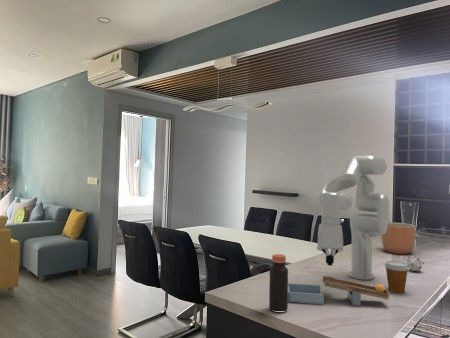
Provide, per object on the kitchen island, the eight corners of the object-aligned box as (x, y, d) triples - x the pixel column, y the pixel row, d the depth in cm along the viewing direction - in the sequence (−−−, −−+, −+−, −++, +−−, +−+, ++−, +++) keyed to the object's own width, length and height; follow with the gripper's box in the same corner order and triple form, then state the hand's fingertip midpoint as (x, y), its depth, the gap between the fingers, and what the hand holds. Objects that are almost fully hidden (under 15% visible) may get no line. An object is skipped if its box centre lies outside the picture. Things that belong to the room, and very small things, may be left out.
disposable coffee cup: (387, 285, 158) (387, 259, 158) (410, 290, 152) (410, 263, 152) (382, 291, 150) (382, 263, 151) (406, 296, 144) (406, 267, 144)
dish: (287, 292, 146) (287, 283, 146) (319, 294, 144) (319, 285, 144) (288, 302, 134) (288, 292, 134) (323, 304, 132) (323, 294, 132)
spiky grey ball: (411, 278, 183) (398, 262, 184) (415, 270, 189) (403, 255, 190) (426, 273, 177) (413, 257, 178) (430, 265, 183) (417, 249, 184)
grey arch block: (347, 297, 141) (347, 283, 141) (355, 298, 141) (355, 284, 141) (352, 305, 132) (352, 291, 132) (360, 306, 131) (360, 291, 132)
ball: (373, 290, 137) (375, 281, 137) (382, 292, 136) (384, 284, 136) (375, 293, 133) (377, 284, 133) (385, 296, 133) (387, 287, 133)
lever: (320, 279, 148) (321, 270, 148) (377, 291, 144) (379, 282, 144) (324, 288, 135) (326, 279, 135) (387, 302, 131) (389, 292, 131)
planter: (421, 256, 220) (421, 226, 221) (389, 255, 221) (389, 226, 221) (405, 249, 241) (405, 222, 241) (375, 249, 241) (375, 222, 242)
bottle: (285, 306, 130) (286, 253, 131) (289, 313, 124) (290, 257, 124) (267, 306, 130) (268, 253, 131) (270, 313, 123) (271, 257, 124)
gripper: (347, 221, 148) (346, 264, 147) (311, 219, 150) (310, 261, 149) (350, 223, 141) (349, 268, 140) (313, 221, 143) (312, 265, 142)
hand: (329, 264), depth 145 cm, fingers closed
